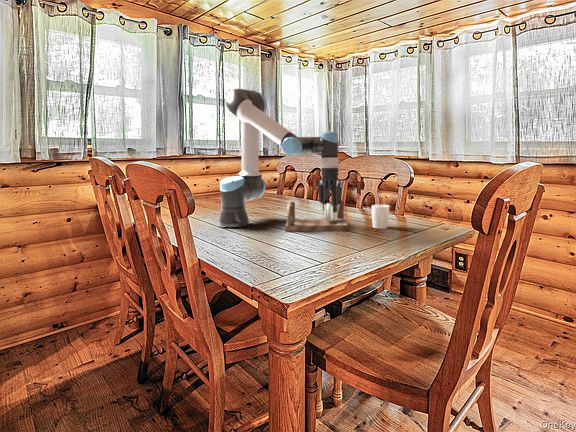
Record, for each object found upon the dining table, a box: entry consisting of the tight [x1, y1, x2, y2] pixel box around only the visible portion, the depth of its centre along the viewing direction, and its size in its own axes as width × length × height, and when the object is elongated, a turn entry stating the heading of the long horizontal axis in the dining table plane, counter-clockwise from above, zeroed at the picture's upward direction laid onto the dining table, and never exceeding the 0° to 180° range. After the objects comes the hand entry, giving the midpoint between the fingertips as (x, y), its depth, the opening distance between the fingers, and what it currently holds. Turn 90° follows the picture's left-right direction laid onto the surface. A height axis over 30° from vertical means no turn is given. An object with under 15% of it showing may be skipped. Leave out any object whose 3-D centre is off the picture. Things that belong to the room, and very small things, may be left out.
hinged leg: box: [327, 202, 343, 223], centre depth 174 cm, size 9×3×9 cm, turn 116°
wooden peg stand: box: [284, 200, 349, 233], centre depth 175 cm, size 28×13×12 cm, turn 87°
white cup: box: [371, 203, 390, 230], centre depth 173 cm, size 8×8×10 cm
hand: (330, 218), depth 174 cm, fingers closed on hinged leg, 3 cm apart
